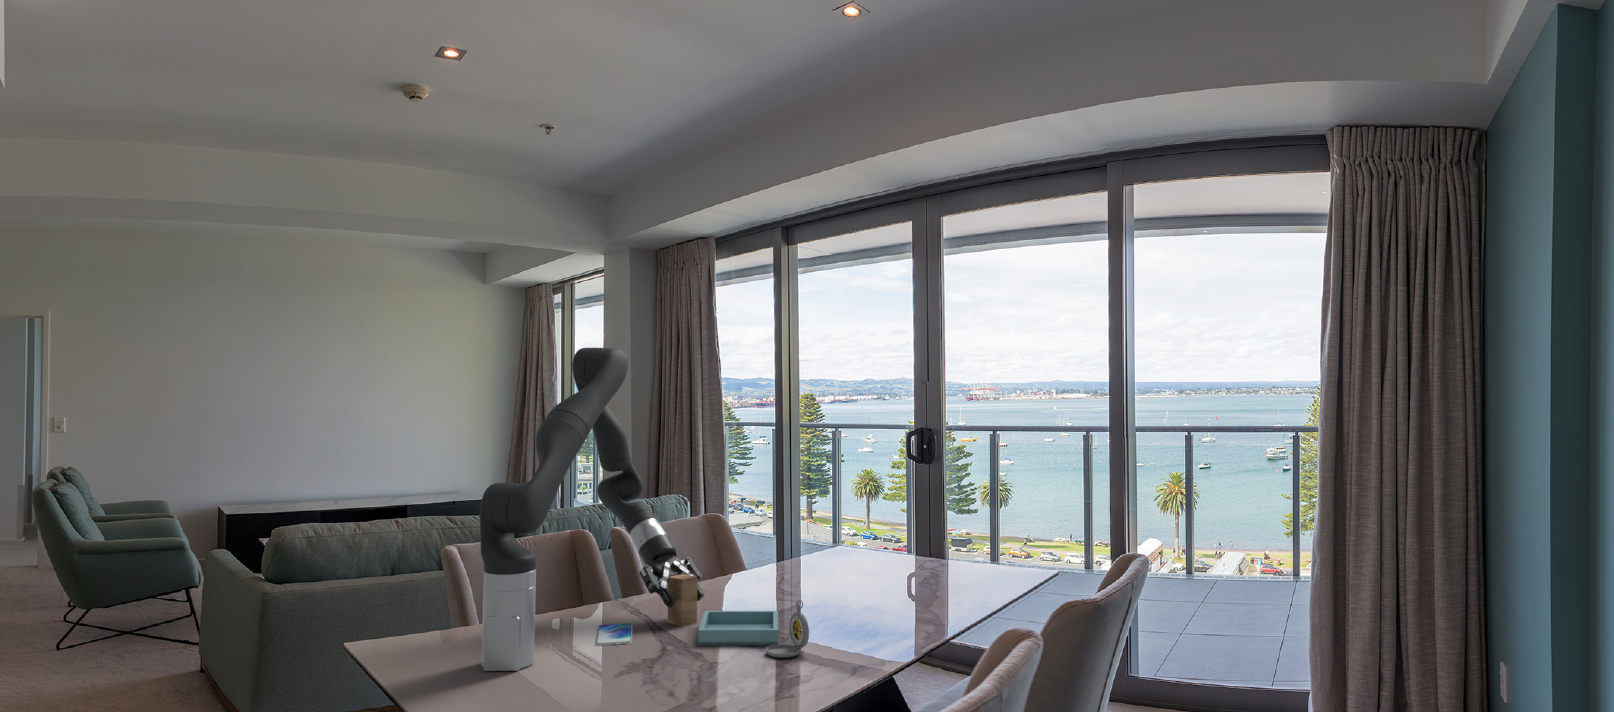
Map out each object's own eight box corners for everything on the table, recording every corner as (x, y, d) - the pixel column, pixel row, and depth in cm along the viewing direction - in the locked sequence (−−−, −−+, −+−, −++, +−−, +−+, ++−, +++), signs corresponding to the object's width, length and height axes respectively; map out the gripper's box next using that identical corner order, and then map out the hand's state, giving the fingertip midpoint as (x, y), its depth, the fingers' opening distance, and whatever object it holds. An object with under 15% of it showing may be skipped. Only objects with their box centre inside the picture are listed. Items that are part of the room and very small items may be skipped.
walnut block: (667, 622, 193) (668, 576, 193) (682, 619, 196) (683, 573, 197) (681, 626, 190) (682, 579, 190) (696, 622, 193) (697, 576, 194)
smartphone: (595, 643, 175) (598, 624, 189) (595, 648, 175) (598, 628, 189) (632, 641, 176) (632, 622, 191) (632, 645, 176) (632, 626, 191)
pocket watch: (759, 656, 168) (759, 603, 169) (780, 645, 176) (781, 595, 176) (796, 662, 164) (797, 608, 165) (817, 651, 172) (817, 599, 172)
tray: (778, 644, 176) (778, 629, 176) (698, 645, 175) (698, 630, 175) (777, 624, 192) (777, 610, 192) (704, 624, 191) (704, 610, 191)
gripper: (636, 536, 193) (671, 597, 185) (683, 529, 204) (718, 586, 197) (620, 558, 196) (653, 618, 188) (667, 549, 207) (701, 606, 200)
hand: (686, 601), depth 193 cm, fingers open, 8 cm apart
